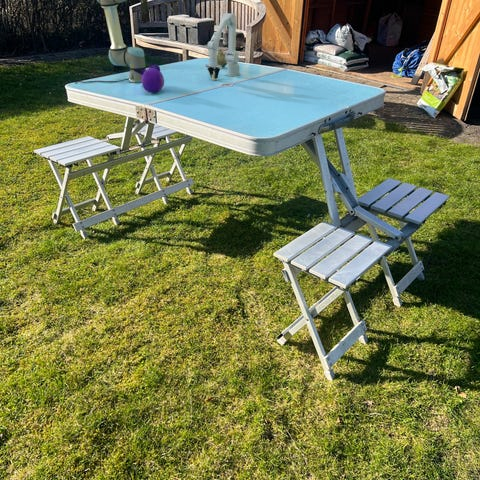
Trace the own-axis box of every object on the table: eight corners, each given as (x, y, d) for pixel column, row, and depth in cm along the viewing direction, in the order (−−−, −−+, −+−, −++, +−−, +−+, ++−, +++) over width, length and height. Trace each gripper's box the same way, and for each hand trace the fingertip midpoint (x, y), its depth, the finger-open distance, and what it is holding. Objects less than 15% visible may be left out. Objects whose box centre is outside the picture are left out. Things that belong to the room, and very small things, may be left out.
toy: (156, 85, 322) (164, 98, 301) (131, 81, 314) (137, 93, 294) (160, 63, 314) (168, 74, 293) (135, 58, 306) (141, 69, 286)
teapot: (213, 69, 375) (212, 50, 367) (207, 67, 383) (206, 48, 376) (235, 67, 384) (235, 48, 376) (229, 65, 392) (228, 46, 385)
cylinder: (216, 79, 339) (216, 73, 337) (216, 80, 336) (216, 74, 334) (212, 79, 339) (211, 73, 337) (211, 80, 336) (211, 74, 334)
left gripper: (144, -8, 339) (147, 23, 349) (151, -9, 360) (154, 21, 371) (134, -8, 339) (138, 23, 350) (141, -8, 360) (145, 21, 371)
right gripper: (202, 58, 331) (203, 77, 338) (217, 60, 324) (218, 79, 331) (208, 57, 336) (209, 76, 343) (223, 59, 329) (224, 78, 335)
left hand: (146, 22), depth 360 cm, fingers open, 13 cm apart
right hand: (214, 78), depth 337 cm, fingers closed on cylinder, 4 cm apart
